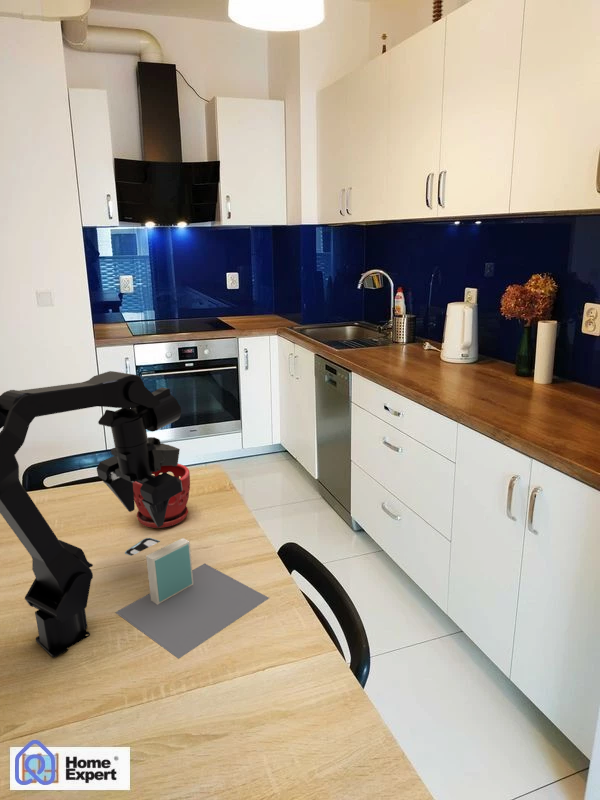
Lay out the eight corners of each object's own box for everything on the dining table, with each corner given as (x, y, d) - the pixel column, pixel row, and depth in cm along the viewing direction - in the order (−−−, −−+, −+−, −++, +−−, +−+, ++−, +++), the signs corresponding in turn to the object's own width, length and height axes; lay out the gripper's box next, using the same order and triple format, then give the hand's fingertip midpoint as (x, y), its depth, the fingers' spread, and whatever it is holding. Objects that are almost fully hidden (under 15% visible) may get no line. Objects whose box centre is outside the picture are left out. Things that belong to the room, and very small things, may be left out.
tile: (158, 605, 102) (153, 560, 100) (151, 600, 104) (145, 555, 101) (193, 584, 108) (190, 541, 106) (186, 580, 109) (182, 537, 107)
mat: (178, 661, 89) (178, 658, 89) (115, 615, 101) (115, 612, 101) (269, 600, 104) (269, 597, 103) (204, 566, 115) (204, 563, 115)
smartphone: (178, 572, 113) (122, 552, 120) (179, 576, 113) (122, 557, 120) (202, 554, 119) (147, 536, 126) (202, 558, 119) (147, 540, 126)
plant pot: (135, 536, 127) (129, 486, 124) (136, 510, 140) (131, 464, 136) (195, 528, 130) (190, 479, 127) (191, 503, 142) (187, 458, 139)
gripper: (200, 436, 101) (211, 514, 107) (139, 416, 113) (152, 487, 119) (147, 460, 94) (161, 542, 99) (88, 435, 106) (104, 510, 111)
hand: (145, 518), depth 107 cm, fingers open, 9 cm apart
